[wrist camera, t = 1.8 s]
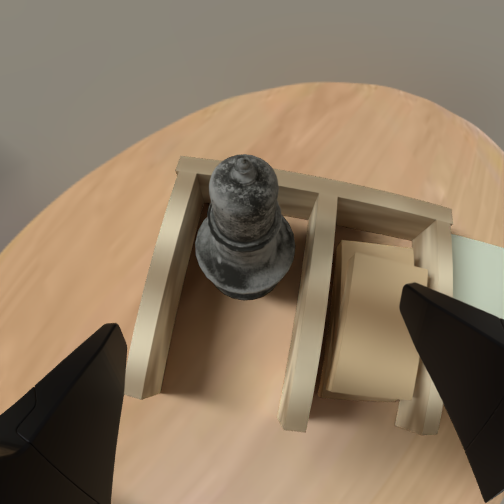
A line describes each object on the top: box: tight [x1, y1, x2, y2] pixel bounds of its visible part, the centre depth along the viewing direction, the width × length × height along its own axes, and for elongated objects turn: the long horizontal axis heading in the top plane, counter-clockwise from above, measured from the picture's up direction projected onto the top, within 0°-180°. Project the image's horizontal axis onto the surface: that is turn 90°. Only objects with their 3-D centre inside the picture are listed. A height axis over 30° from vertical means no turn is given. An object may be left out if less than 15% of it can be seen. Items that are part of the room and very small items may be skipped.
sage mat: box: [451, 234, 504, 319], centre depth 21 cm, size 12×10×1 cm
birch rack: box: [124, 156, 453, 435], centre depth 19 cm, size 15×19×4 cm
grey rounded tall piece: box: [195, 154, 295, 300], centre depth 17 cm, size 6×6×12 cm
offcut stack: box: [318, 240, 428, 402], centre depth 19 cm, size 10×6×4 cm, turn 170°
